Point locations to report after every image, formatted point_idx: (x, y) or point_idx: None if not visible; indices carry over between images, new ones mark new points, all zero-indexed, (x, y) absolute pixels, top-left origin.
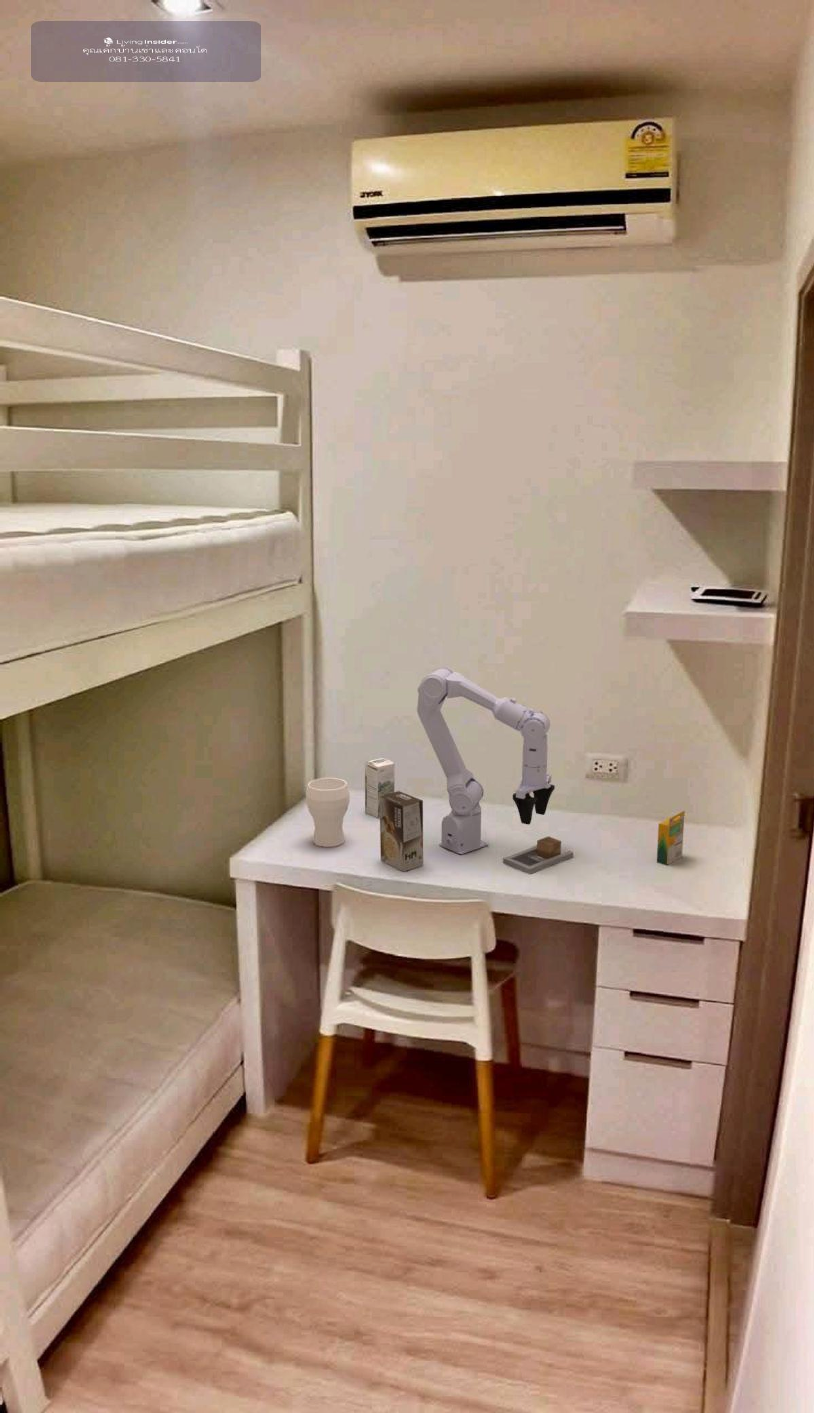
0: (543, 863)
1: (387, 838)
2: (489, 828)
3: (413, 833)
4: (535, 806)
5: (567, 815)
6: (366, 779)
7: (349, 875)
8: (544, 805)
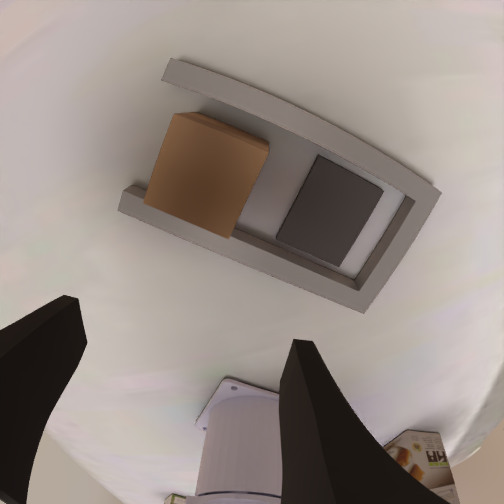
0: (370, 149)
1: None
2: (111, 389)
3: (442, 496)
4: (67, 378)
5: None
6: None
7: None
8: (36, 340)
